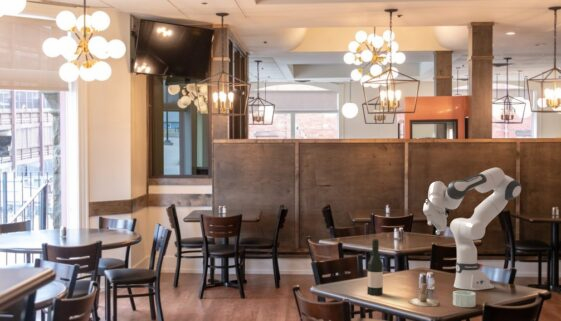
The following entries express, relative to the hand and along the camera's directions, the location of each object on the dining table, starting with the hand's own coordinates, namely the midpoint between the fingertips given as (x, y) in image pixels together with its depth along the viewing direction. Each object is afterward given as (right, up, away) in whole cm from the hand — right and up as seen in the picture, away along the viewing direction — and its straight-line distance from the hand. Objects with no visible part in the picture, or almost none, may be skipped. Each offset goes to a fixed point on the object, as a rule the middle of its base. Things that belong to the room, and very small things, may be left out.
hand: (433, 229), depth 357 cm
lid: (-7, -37, -9) cm, 39 cm away
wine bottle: (-29, -36, +11) cm, 48 cm away
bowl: (+13, -37, -12) cm, 41 cm away
